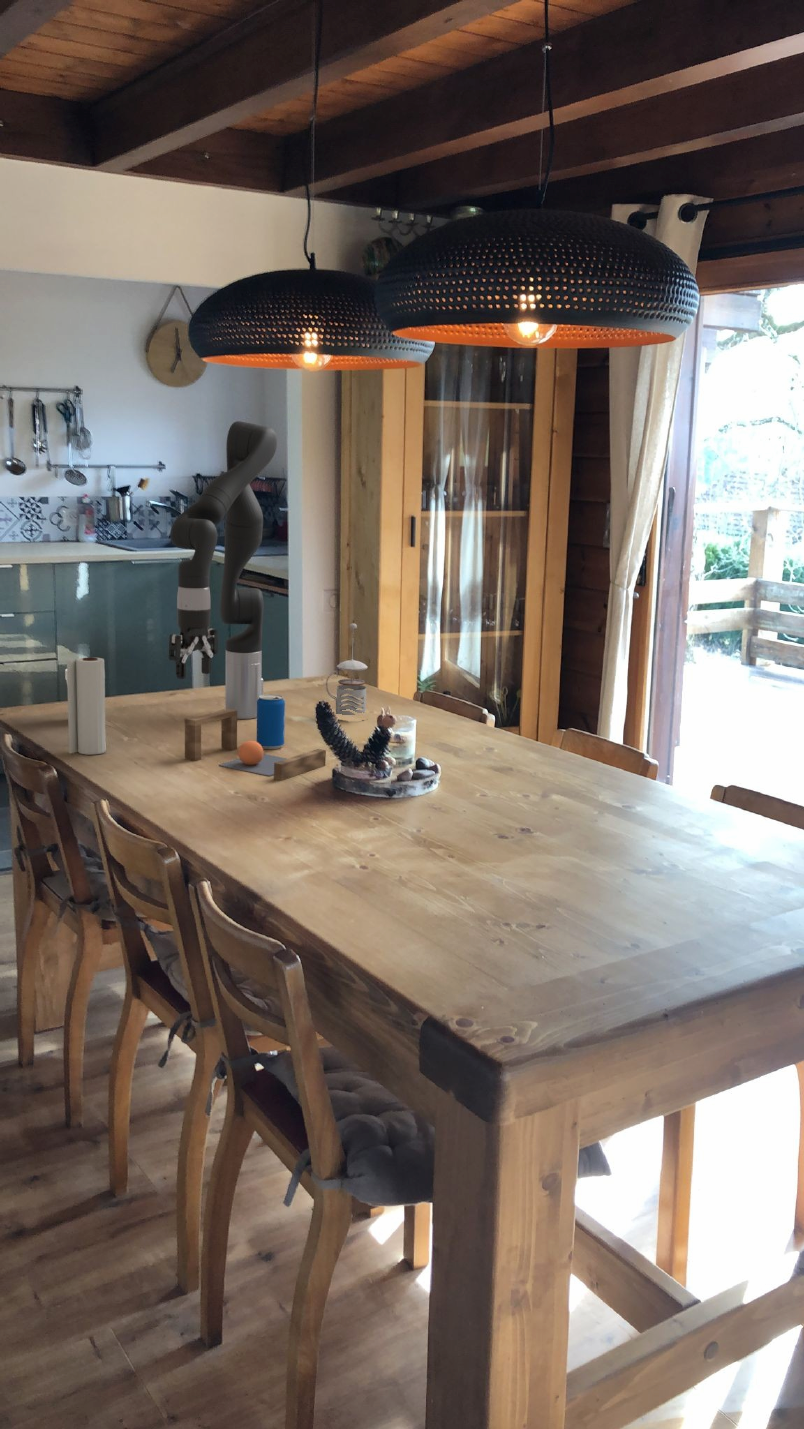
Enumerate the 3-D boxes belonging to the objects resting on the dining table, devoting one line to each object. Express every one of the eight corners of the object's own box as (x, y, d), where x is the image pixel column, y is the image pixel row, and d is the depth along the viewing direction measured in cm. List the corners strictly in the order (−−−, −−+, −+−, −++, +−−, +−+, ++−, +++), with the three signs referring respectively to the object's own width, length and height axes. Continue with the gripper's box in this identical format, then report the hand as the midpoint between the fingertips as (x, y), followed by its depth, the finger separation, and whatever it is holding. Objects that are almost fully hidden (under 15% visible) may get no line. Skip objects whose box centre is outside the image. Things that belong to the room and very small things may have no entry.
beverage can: (282, 750, 277) (283, 699, 274) (254, 749, 277) (255, 698, 274) (285, 744, 283) (286, 694, 281) (258, 742, 283) (259, 693, 281)
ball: (271, 747, 262) (264, 769, 263) (256, 736, 265) (249, 758, 267) (252, 747, 258) (245, 770, 259) (237, 736, 261) (230, 758, 263)
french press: (368, 722, 309) (371, 626, 304) (323, 720, 309) (326, 625, 304) (370, 714, 319) (373, 621, 313) (326, 712, 319) (328, 619, 313)
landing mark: (258, 753, 273) (258, 752, 273) (308, 763, 266) (308, 762, 266) (218, 765, 261) (218, 764, 261) (269, 776, 254) (269, 775, 254)
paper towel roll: (109, 749, 272) (108, 657, 267) (100, 756, 266) (98, 661, 261) (78, 747, 272) (76, 655, 268) (69, 754, 266) (66, 659, 262)
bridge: (184, 759, 266) (184, 718, 264) (226, 746, 278) (227, 708, 276) (195, 761, 265) (195, 720, 263) (236, 748, 277) (237, 710, 275)
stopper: (318, 764, 266) (318, 748, 265) (325, 765, 265) (325, 750, 264) (273, 778, 253) (274, 762, 252) (281, 780, 252) (281, 764, 251)
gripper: (185, 611, 266) (185, 682, 269) (226, 605, 277) (226, 673, 281) (160, 607, 269) (160, 678, 273) (202, 602, 281) (202, 669, 285)
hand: (193, 676), depth 277 cm, fingers open, 8 cm apart
